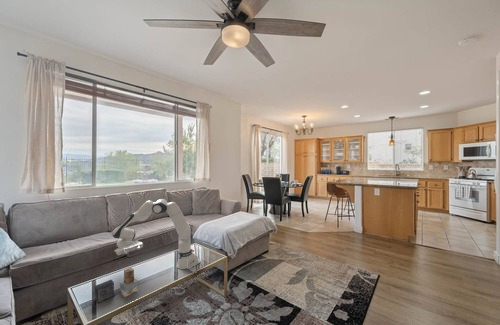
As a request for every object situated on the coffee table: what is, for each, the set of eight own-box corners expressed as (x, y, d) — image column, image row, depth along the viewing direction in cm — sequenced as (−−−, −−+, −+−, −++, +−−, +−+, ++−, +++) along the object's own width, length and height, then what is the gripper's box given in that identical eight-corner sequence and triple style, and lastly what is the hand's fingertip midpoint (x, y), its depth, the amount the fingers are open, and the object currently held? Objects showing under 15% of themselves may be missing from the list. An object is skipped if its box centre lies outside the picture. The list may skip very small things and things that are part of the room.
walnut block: (131, 278, 161) (130, 267, 161) (134, 281, 158) (133, 269, 158) (124, 281, 157) (124, 270, 157) (127, 284, 154) (126, 272, 154)
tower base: (132, 286, 164) (132, 281, 164) (137, 291, 158) (137, 286, 158) (120, 292, 157) (120, 287, 157) (124, 297, 152) (124, 292, 151)
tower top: (132, 281, 164) (132, 276, 164) (138, 285, 159) (138, 280, 159) (119, 287, 157) (119, 282, 157) (125, 292, 152) (125, 286, 152)
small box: (111, 292, 156) (111, 278, 156) (114, 296, 152) (114, 282, 152) (94, 299, 148) (94, 285, 148) (97, 303, 144) (97, 289, 144)
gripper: (113, 246, 174) (119, 251, 165) (139, 239, 190) (145, 243, 181) (113, 254, 175) (119, 259, 166) (139, 246, 190) (145, 250, 181)
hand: (133, 250), depth 173 cm, fingers open, 8 cm apart
